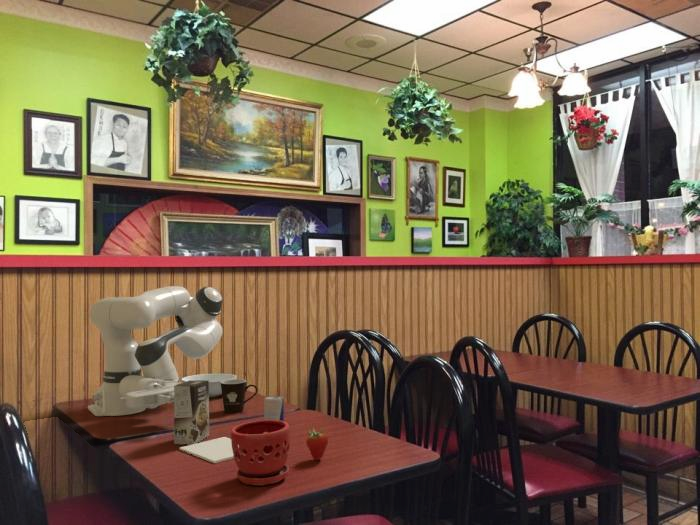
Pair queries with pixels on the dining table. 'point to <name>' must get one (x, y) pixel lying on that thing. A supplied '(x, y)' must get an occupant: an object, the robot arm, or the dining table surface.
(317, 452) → the fruit
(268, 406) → the energy drink
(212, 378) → the serving bowl
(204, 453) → the mat
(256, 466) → the plant pot
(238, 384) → the coffee mug
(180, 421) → the coffee box
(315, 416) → the dining table surface
